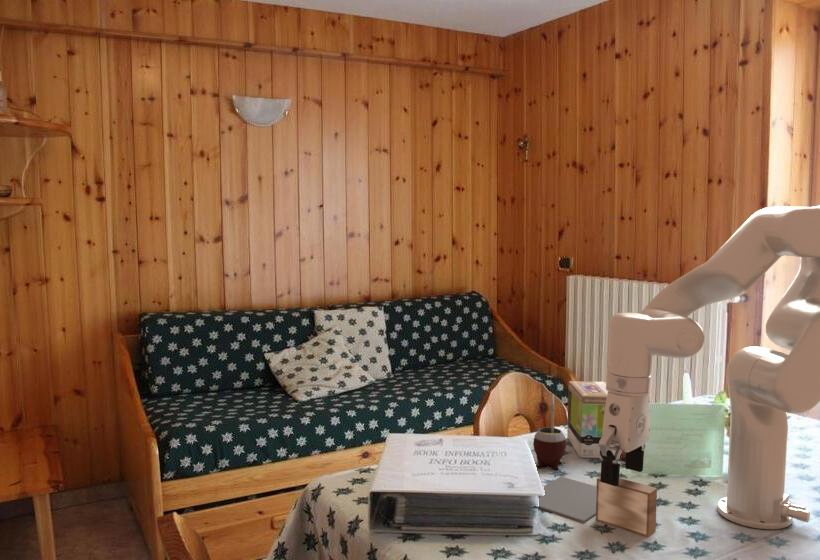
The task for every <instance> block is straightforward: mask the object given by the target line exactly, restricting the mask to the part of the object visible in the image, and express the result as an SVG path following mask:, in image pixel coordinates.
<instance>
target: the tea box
mask: <svg viewBox="0 0 820 560" xmlns="http://www.w3.org/2000/svg"><path fill="white" fill-rule="evenodd" d="M607 394H608V391H607V390H606V381H587V380H586V381H581V380H580V381H577V380H570V381H568V402H567V425H566V426H567V428H566V429H567V430H566V431H567V433H566V435H567V439H568V440H569V442H570V444H571V445H572V447H573V449H574V450H575V452H576V453H577V455H578V456H579V458H582V459H583V458H584V459H600V458H601V455H600V447H599V441H600V439H601V438H602V432H603V420H604V412H605V405H606V399H607ZM614 445H617V446H619V445H618V444H614ZM610 450H611V449H610ZM611 451H612V453H613V455H615V452H616V451H615V450H611Z"/></svg>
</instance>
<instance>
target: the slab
mask: <svg viewBox="0 0 820 560" xmlns="http://www.w3.org/2000/svg"><path fill="white" fill-rule="evenodd" d="M600 478H601V475H600V476H598V477H597V478H596V487H597V494H596V515H595V521H597V522H600V523H603V524H606V525H610V526H612V527H615V528H619V529H621V530H625V531H628V532H631V533H635V534H637V535H640V536H644V537H647V538H649V537H650V536H651V535H654V533H656V529H657V528H656V527H657V525H656V524H657V500H658V498H657V497H658V487H654V486H652V485H651V486H650V485H647V484H644V483H639V482H636V481H632V480H629V479H624V478H622V477H619V485H618V486H613V485H609V484H606V483H603V482H601V480H600Z"/></svg>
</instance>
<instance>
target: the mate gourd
mask: <svg viewBox="0 0 820 560" xmlns="http://www.w3.org/2000/svg"><path fill="white" fill-rule="evenodd" d="M555 408H556V407H555V394H554V393H551V406H550V411H551V417H550V418H551V419H550V420H551V421H550V422H551V423H550V424H551V425H550V427H541V428H538V430H537V431H536V433H535V434H534V436H533V442H532V445H533V450H534V453H535V455H536V460H537V465H536V468H537V469H538V470H540V469H544V468H550V469H552V470H554V471H555V472H557V471H560V467H559V466H560V465H562V461H561V460H562V458H563V456H564V454H565V452H566V447H567V440H566V436H565V434H564V432H562V430H561V429H559V428H555V423H554V422H555Z"/></svg>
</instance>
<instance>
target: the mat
mask: <svg viewBox="0 0 820 560" xmlns="http://www.w3.org/2000/svg"><path fill="white" fill-rule="evenodd" d="M543 486H544V490H545V495H544V496H542V497H540V498H539V507H540V508H539V509H541V510H543V511H547V512H550V513H553V514H556V515H559V516H561V517H562V516H563V517H565V518H568V519H571V520H574V521H577V522H581V523H584V524H585V523H586V522H588V521H590V520H591V519H592V518H594V517H596V494H597V485H593V484H589V483H586V482H581V481H579V480H576V479H571V478H568V477H564V476H560V477H558V478H556V479H554V480H552V481H550V482H548V483H546V484H545V485H543Z"/></svg>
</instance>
